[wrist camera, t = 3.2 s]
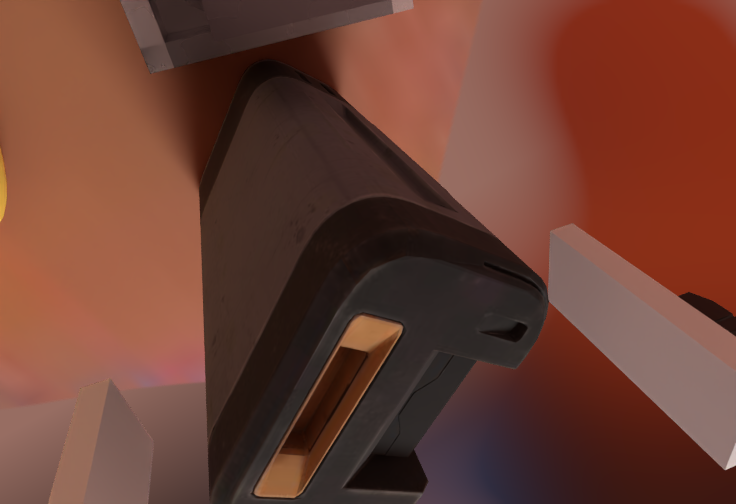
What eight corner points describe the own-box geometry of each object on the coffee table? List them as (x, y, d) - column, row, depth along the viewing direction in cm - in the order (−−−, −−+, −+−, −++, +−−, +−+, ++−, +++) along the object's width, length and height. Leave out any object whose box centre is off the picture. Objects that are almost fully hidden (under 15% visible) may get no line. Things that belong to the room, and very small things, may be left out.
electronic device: (285, 233, 31) (393, 547, 14) (190, 202, 28) (188, 550, 11) (351, 96, 28) (586, 295, 11) (252, 45, 25) (370, 213, 8)
